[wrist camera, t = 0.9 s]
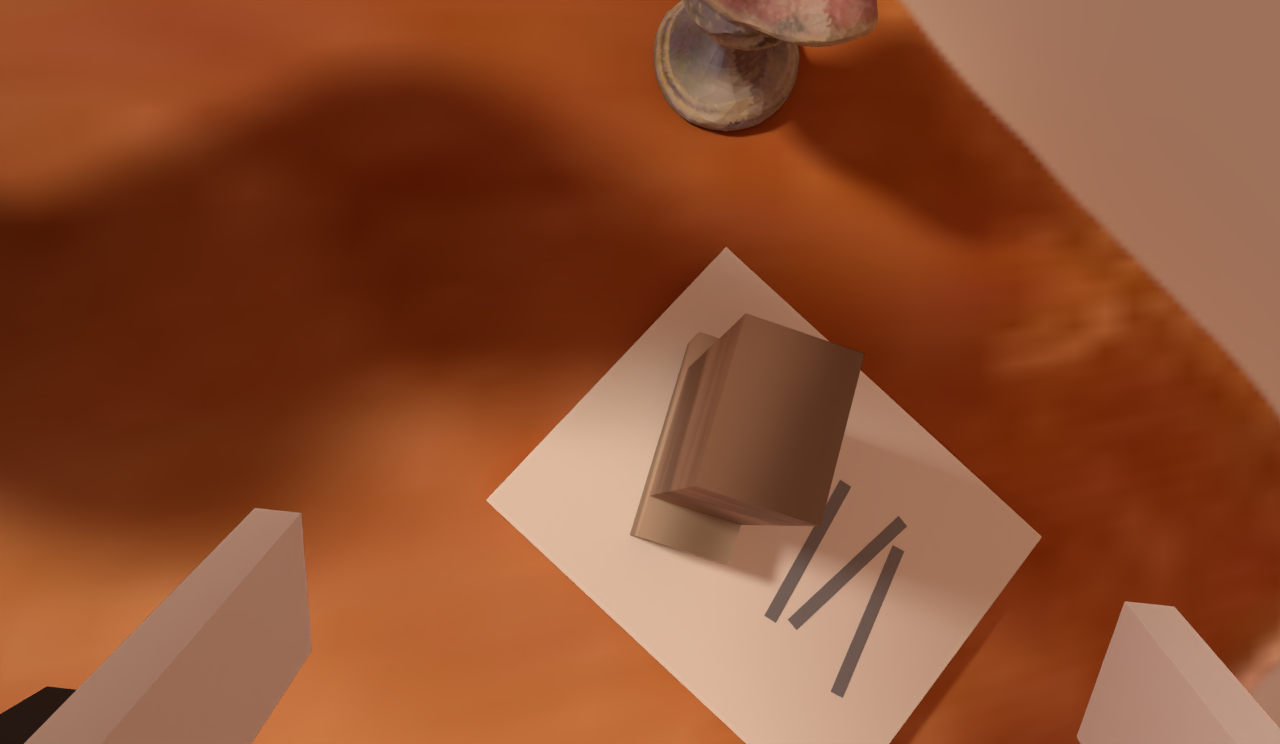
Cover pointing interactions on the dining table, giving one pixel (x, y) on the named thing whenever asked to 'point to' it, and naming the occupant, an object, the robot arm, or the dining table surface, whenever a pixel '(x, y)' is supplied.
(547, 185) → the dining table surface
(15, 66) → the dining table surface
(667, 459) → the block
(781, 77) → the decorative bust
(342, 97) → the dining table surface
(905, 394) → the dining table surface
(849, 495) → the marked board
